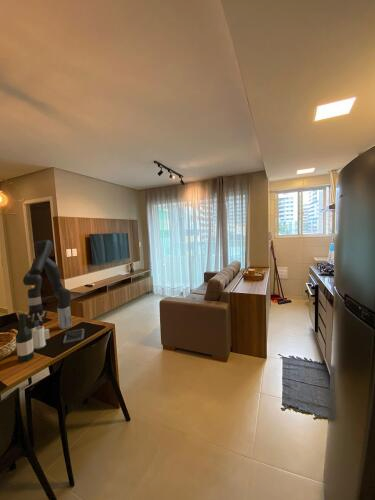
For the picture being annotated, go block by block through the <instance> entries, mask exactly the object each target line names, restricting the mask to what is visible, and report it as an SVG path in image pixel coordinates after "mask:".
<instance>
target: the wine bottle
mask: <svg viewBox="0 0 375 500" xmlns="http://www.w3.org/2000/svg"><path fill="white" fill-rule="evenodd" d="M25 314H26V313H25V312H19V313H18V325H19V329H18V331H17V333H16V335H15V344H16V350H17V352H16V354H17V362H18V363H26V362H29V361H31V360H32V359H34V358H35V349H34V348H33V338H32V331H31V330H32V329H30V328H29V327H28V326H27V321H26V317H25Z"/></svg>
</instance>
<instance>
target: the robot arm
mask: <svg viewBox="0 0 375 500" xmlns="http://www.w3.org/2000/svg"><path fill="white" fill-rule="evenodd" d="M34 249H35V251H36V254H37V255H38V256H37V257H36V258H35V259H34V260H33V261H32V264H31V267H30V269H29V270H28V271H27V272H26V273H25V275H24V277H22V279H23V280H22V283H23V285H24V286H34V287H31V288H29V289H28V290H27V299H28V300H27V304H28V305H27V306H28V313H24V314H25V317H26V323H27V324H30V325H31V329H33V328H35V326H34V321H35V319H36V318H38V320H40V325H39V326H43V325H44V321H45V320H46V319H47V316H48V310H44V309H43V302H42V297H41V296H42V295H41V287H42V282H43V278H42V276H41V275H40V274H42V273H43V270H45V273H46V275H47V278H48V280H49V282H50V284H51V287H52V290H53V291H52V292H53V294H54V296H55V298H56V299H58V303H57V305H56V306H57V307H56V308H57V317H58V318H57V319H58V328H59V329H60V330H64V329H67V328H70V327H71V328H72V324H73V323H72V315H71V302H72V301H71V291H70V290H69V289H68V288H65V287H64V285H63V284H62V280H61V279H62V278H61V277H62V275H61V271H60V268H59V265H58V264H57V263H56V262H55V261H54V260H52V259H51V258H50V257H49V256H50V254H51V252H52V251H53V249H54V244H53V242H52V241H51V239H45V240H39V241H35V243H34ZM43 314H44V315H43ZM42 315H43V316H42ZM29 316H30V317H31V319H30V318H29Z"/></svg>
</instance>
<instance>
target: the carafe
mask: <svg viewBox="0 0 375 500" xmlns="http://www.w3.org/2000/svg"><path fill="white" fill-rule="evenodd" d="M38 328H39V330H37V326H34V328H31V329H30V330H31V331H32V338H33V348H34V350H39V349H42V348H45V346H47V342H46V340H49V339H50V328H47V329H45V326H43V325H42V326H40V325H38Z"/></svg>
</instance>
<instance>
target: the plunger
mask: <svg viewBox="0 0 375 500" xmlns="http://www.w3.org/2000/svg"><path fill="white" fill-rule="evenodd" d="M38 326H40V319H38V320H34V327H37V330H39V328H38Z"/></svg>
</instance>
